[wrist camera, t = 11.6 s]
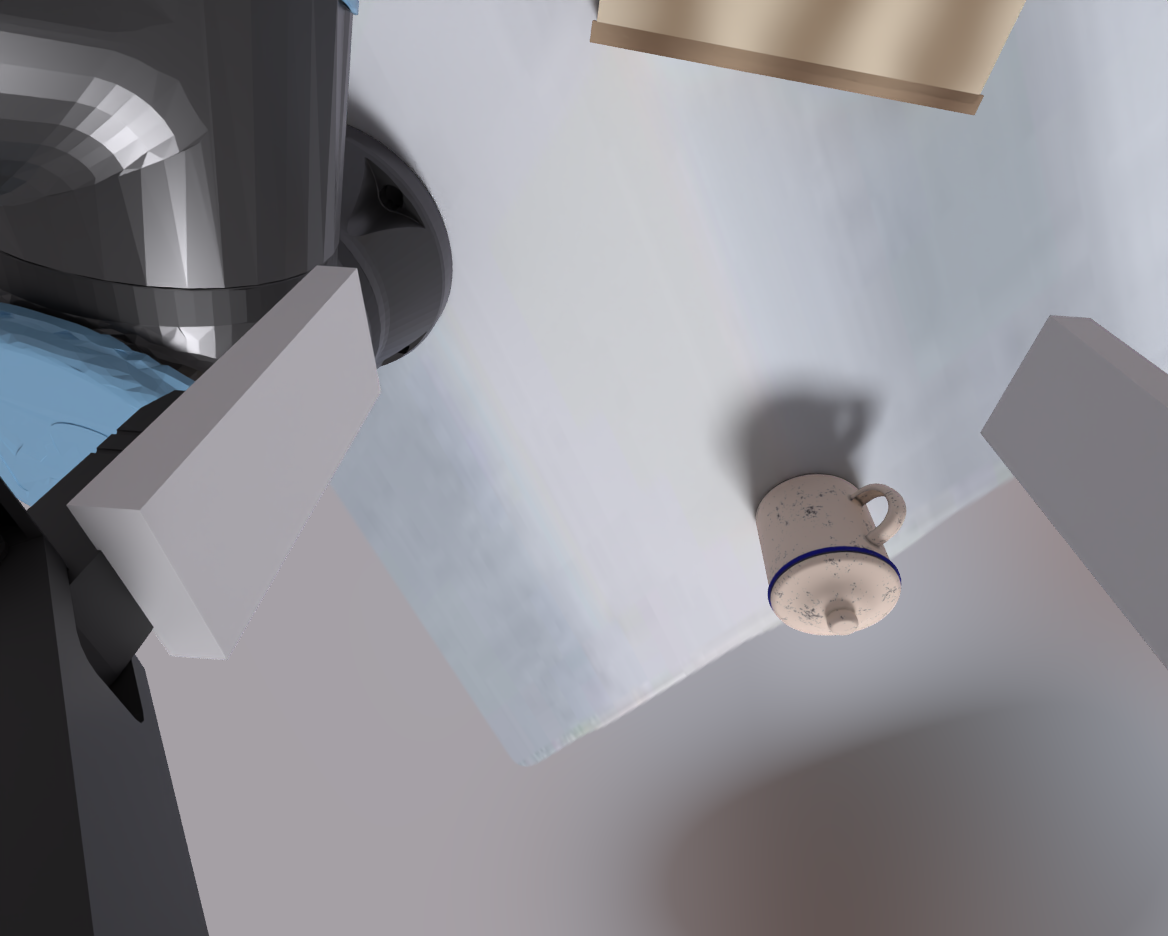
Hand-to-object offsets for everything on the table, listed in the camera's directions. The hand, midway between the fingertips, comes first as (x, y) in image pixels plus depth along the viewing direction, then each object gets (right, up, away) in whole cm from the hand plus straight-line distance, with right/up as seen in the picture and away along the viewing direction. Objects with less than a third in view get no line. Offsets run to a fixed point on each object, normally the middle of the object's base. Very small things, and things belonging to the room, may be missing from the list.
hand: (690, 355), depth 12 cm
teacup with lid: (+17, -5, +37) cm, 41 cm away
